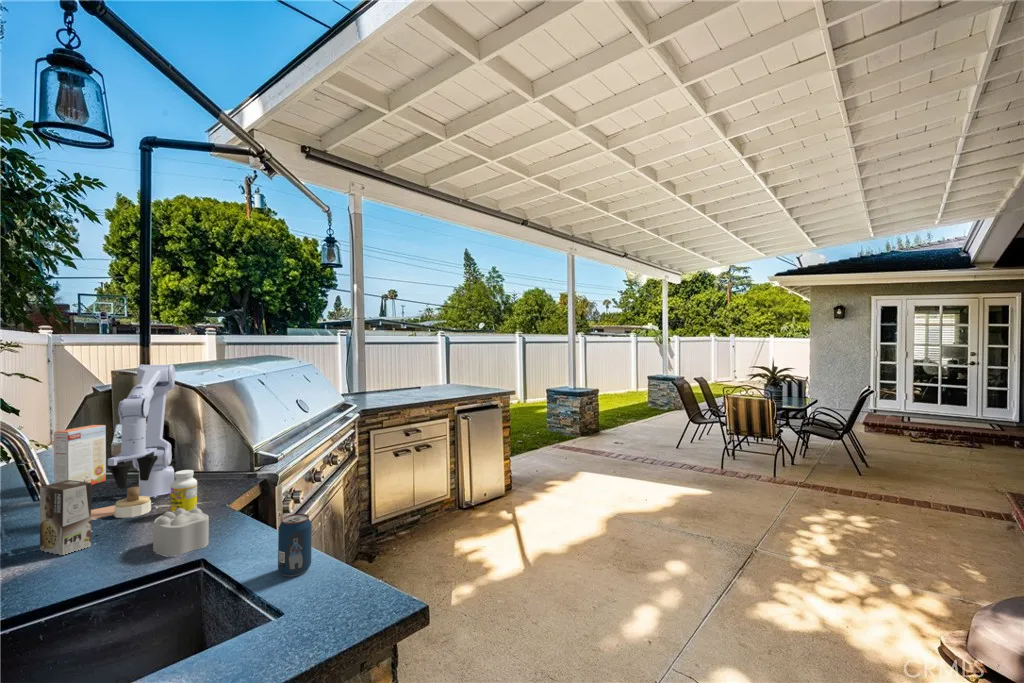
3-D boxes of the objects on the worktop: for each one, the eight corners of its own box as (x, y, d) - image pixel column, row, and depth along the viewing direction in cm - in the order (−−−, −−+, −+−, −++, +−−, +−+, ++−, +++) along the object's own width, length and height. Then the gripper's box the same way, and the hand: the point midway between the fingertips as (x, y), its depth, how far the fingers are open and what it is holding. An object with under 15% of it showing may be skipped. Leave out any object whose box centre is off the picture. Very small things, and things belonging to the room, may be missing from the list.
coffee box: (92, 546, 122) (93, 482, 122) (61, 557, 116) (62, 489, 116) (69, 541, 125) (70, 478, 125) (38, 551, 119) (38, 485, 119)
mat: (119, 506, 152) (119, 504, 152) (126, 513, 145) (126, 511, 145) (76, 514, 144) (76, 512, 144) (82, 523, 138) (82, 521, 138)
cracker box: (91, 480, 179) (92, 424, 179) (106, 481, 178) (107, 424, 178) (52, 492, 165) (53, 431, 165) (68, 493, 164) (68, 431, 165)
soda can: (298, 561, 115) (299, 510, 115) (317, 568, 112) (318, 516, 112) (271, 573, 109) (271, 519, 109) (290, 580, 106) (291, 525, 106)
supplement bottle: (164, 516, 143) (165, 473, 143) (187, 509, 149) (187, 467, 150) (179, 519, 141) (180, 475, 141) (202, 512, 147) (202, 470, 147)
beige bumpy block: (169, 560, 115) (169, 523, 115) (143, 547, 122) (143, 513, 122) (214, 544, 124) (214, 510, 124) (187, 534, 131) (188, 502, 131)
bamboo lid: (135, 497, 150) (135, 483, 150) (156, 499, 148) (156, 485, 148) (108, 505, 142) (108, 490, 142) (130, 508, 140) (130, 493, 140)
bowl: (146, 507, 151) (146, 496, 151) (153, 514, 145) (154, 502, 145) (111, 515, 144) (111, 503, 144) (118, 521, 139) (118, 509, 139)
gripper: (142, 433, 152) (142, 476, 152) (98, 443, 138) (97, 490, 138) (163, 434, 152) (162, 477, 152) (120, 443, 137) (120, 491, 137)
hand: (133, 483), depth 145 cm, fingers open, 7 cm apart
